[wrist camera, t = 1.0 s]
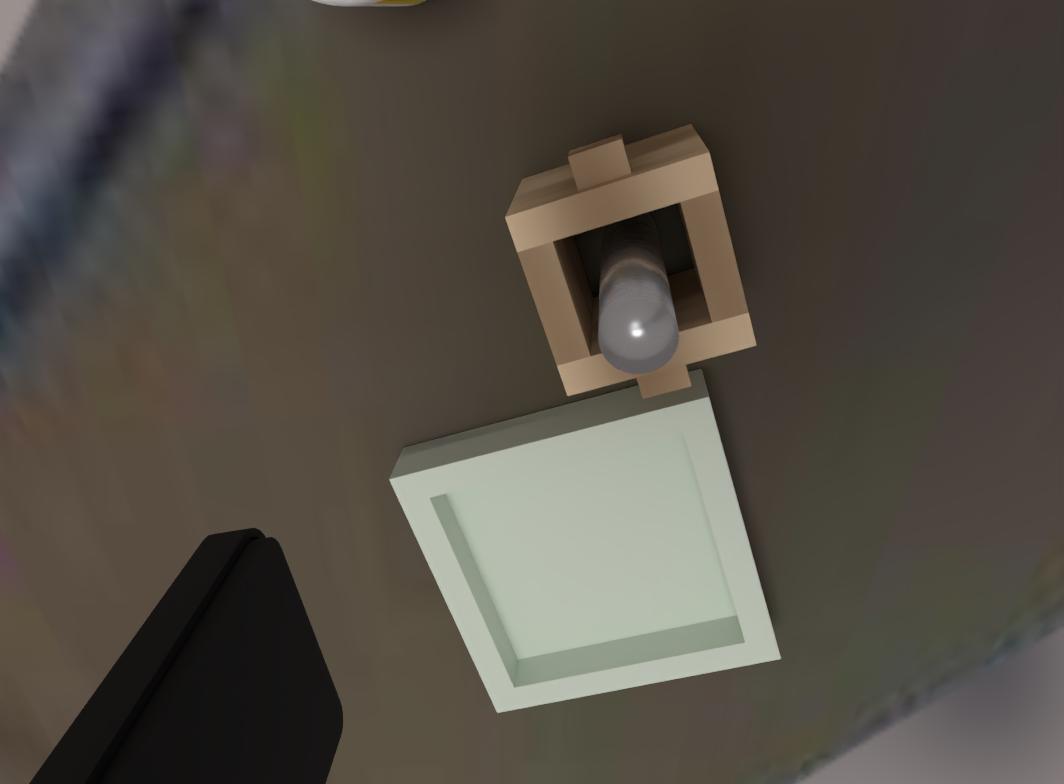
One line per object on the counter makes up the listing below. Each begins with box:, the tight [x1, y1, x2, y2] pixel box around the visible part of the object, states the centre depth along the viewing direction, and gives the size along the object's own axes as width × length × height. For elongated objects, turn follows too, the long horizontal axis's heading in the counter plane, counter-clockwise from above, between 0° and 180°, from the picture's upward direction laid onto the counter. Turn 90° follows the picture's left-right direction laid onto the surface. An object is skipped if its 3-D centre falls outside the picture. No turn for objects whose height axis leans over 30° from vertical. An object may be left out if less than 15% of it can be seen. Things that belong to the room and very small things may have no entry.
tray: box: [389, 368, 781, 713], centre depth 34 cm, size 12×12×2 cm
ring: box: [505, 124, 757, 399], centre depth 27 cm, size 6×8×6 cm
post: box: [598, 212, 679, 374], centre depth 25 cm, size 2×2×10 cm
